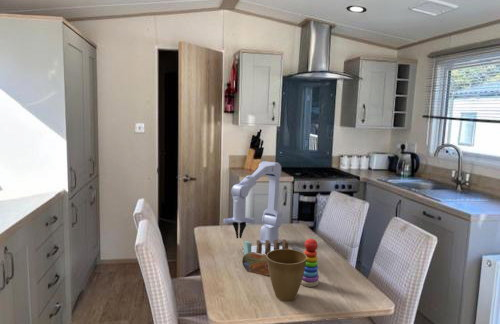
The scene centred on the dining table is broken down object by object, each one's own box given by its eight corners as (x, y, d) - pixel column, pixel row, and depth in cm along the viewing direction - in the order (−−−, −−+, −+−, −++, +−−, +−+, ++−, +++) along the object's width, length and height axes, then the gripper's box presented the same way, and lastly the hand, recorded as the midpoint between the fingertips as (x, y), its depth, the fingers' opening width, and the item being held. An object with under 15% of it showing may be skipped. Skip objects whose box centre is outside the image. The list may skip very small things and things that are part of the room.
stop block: (295, 257, 181) (296, 251, 181) (291, 251, 188) (292, 246, 188) (301, 256, 182) (302, 251, 181) (297, 251, 189) (297, 246, 188)
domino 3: (267, 257, 180) (267, 243, 179) (264, 253, 185) (265, 240, 184) (270, 257, 180) (270, 243, 179) (268, 253, 185) (268, 240, 184)
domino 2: (258, 257, 179) (258, 243, 178) (256, 254, 184) (256, 240, 183) (261, 257, 180) (261, 243, 179) (259, 254, 184) (259, 240, 183)
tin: (241, 270, 165) (242, 251, 164) (245, 267, 168) (245, 249, 167) (273, 277, 158) (273, 258, 157) (276, 274, 161) (276, 256, 160)
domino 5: (284, 256, 181) (284, 242, 181) (281, 253, 186) (282, 239, 185) (287, 256, 182) (288, 242, 181) (285, 253, 186) (285, 239, 186)
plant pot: (280, 284, 152) (281, 245, 150) (312, 295, 143) (314, 255, 141) (257, 297, 141) (258, 256, 139) (290, 310, 131) (292, 267, 129)
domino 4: (275, 257, 181) (276, 243, 180) (273, 253, 185) (273, 239, 185) (279, 257, 181) (279, 243, 180) (276, 253, 186) (277, 239, 185)
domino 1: (248, 258, 178) (248, 244, 177) (244, 254, 183) (244, 240, 182) (251, 257, 179) (251, 243, 178) (247, 254, 183) (247, 240, 182)
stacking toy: (295, 282, 154) (296, 238, 152) (308, 277, 159) (310, 234, 157) (309, 289, 148) (311, 243, 146) (322, 283, 153) (325, 239, 151)
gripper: (224, 212, 172) (224, 240, 174) (256, 211, 175) (255, 239, 176) (223, 208, 179) (222, 236, 181) (253, 207, 181) (252, 235, 183)
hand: (238, 237), depth 179 cm, fingers closed
